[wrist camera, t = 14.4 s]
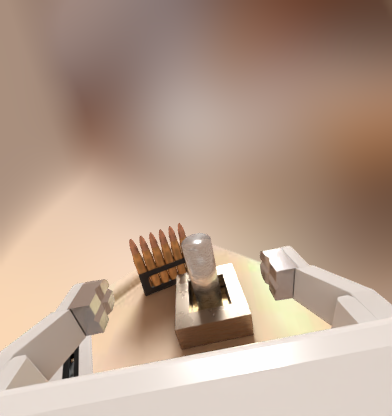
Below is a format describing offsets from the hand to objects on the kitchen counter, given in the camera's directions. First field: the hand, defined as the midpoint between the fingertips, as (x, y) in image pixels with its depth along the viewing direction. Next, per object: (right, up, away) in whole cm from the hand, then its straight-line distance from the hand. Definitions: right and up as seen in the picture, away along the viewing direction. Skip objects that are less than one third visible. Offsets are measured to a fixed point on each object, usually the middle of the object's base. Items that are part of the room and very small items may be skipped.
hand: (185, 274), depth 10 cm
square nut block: (+3, -13, +20) cm, 24 cm away
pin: (+3, -12, +20) cm, 23 cm away
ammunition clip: (-4, -12, +28) cm, 30 cm away
